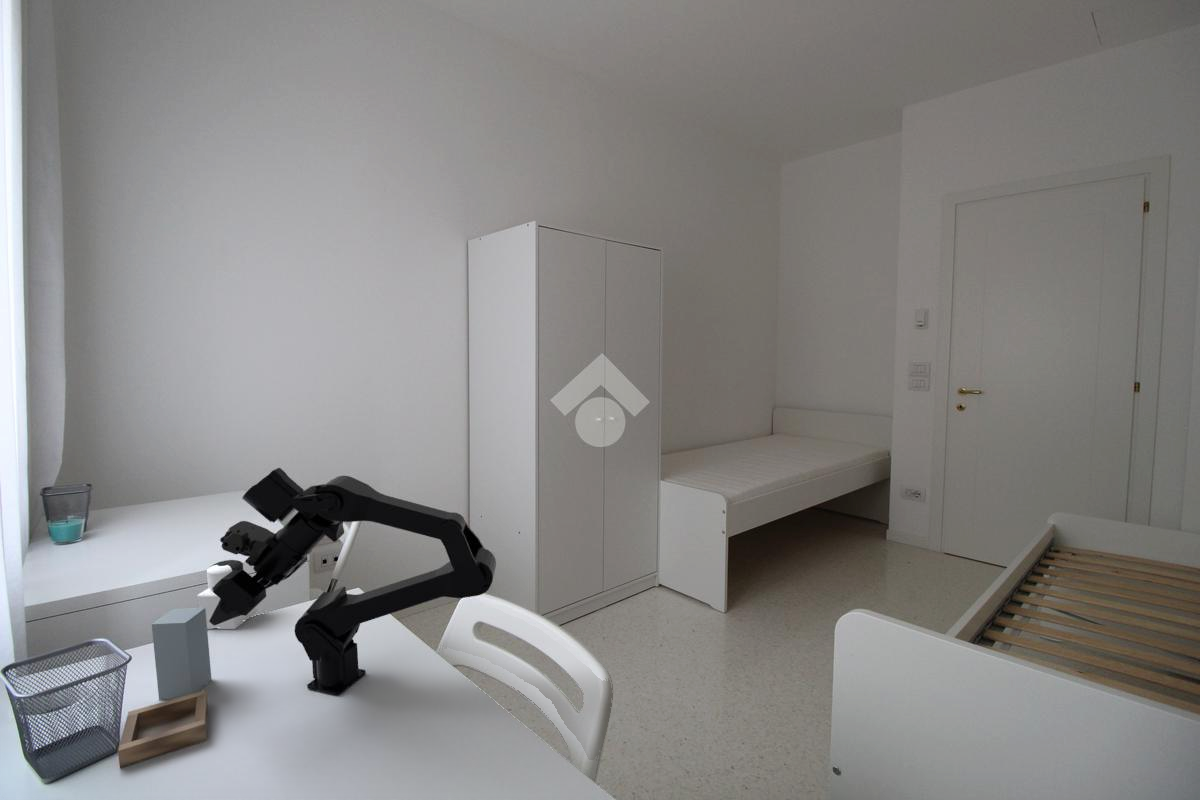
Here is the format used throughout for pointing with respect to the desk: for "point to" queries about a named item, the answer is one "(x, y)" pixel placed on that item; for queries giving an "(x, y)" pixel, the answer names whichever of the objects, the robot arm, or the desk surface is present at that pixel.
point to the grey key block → (181, 652)
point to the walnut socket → (163, 728)
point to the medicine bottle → (211, 600)
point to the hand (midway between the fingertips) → (229, 608)
